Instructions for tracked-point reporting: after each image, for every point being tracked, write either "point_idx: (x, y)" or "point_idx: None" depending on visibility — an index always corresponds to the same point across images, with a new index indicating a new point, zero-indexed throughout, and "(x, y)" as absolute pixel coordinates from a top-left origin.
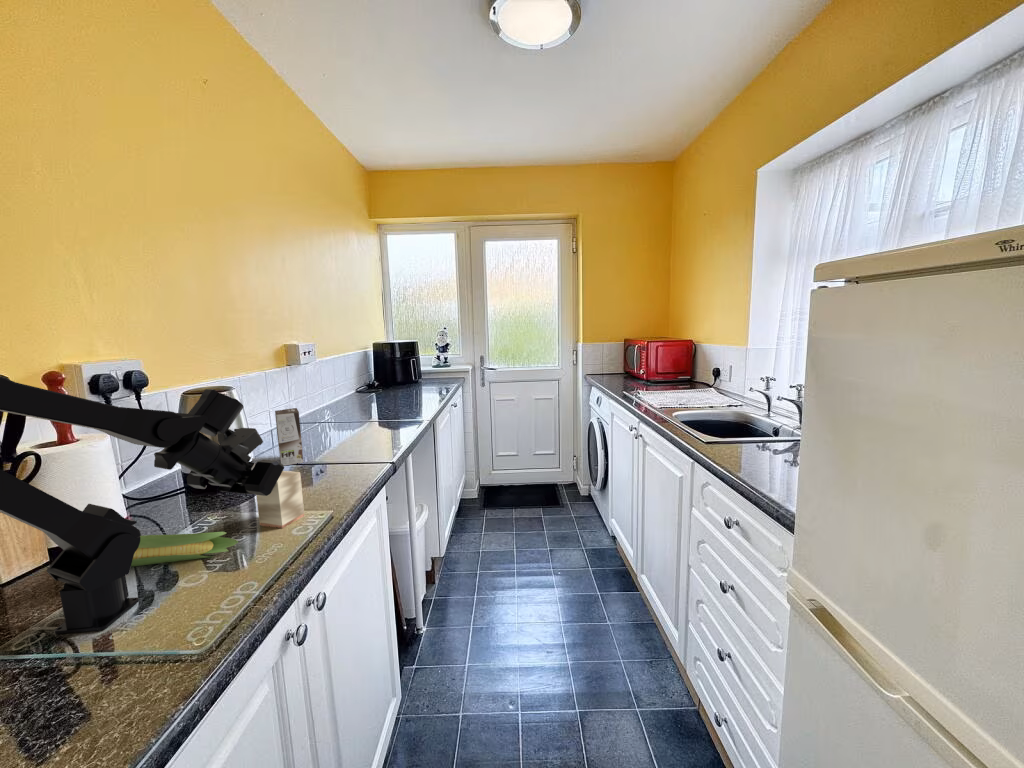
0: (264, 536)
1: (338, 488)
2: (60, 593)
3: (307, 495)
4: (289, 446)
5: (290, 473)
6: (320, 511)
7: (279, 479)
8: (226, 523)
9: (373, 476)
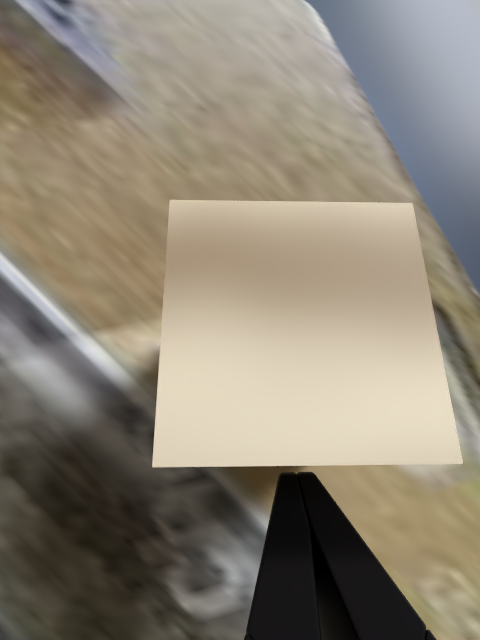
0: None
1: (246, 103)
2: None
3: (172, 171)
4: None
5: (357, 242)
6: None
7: (410, 395)
8: (20, 472)
9: (293, 7)
